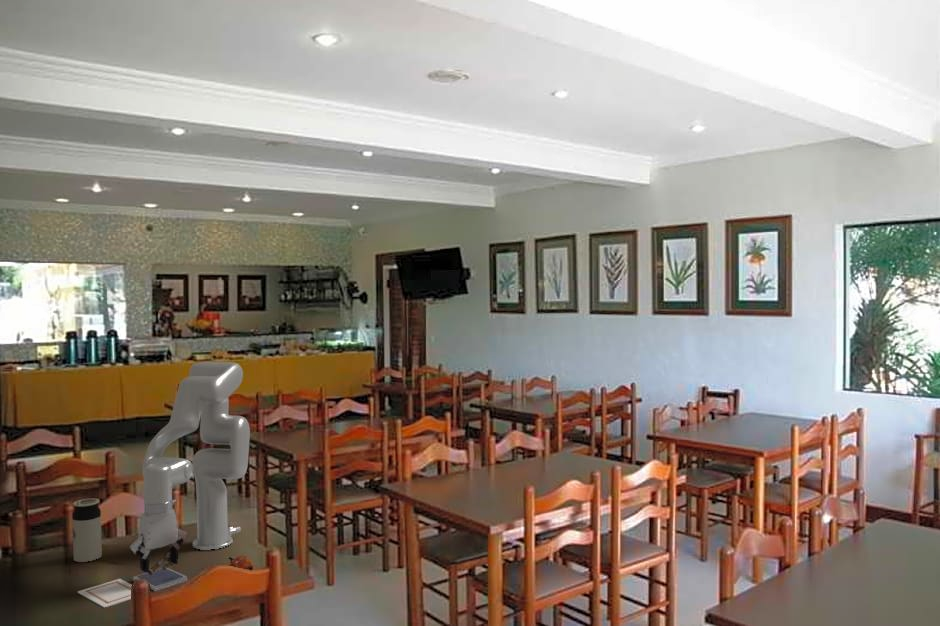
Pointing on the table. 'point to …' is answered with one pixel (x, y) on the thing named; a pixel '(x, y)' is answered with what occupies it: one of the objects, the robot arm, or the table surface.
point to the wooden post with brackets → (166, 556)
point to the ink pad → (162, 578)
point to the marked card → (108, 593)
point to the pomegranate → (242, 562)
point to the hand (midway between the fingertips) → (159, 566)
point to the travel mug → (86, 530)
